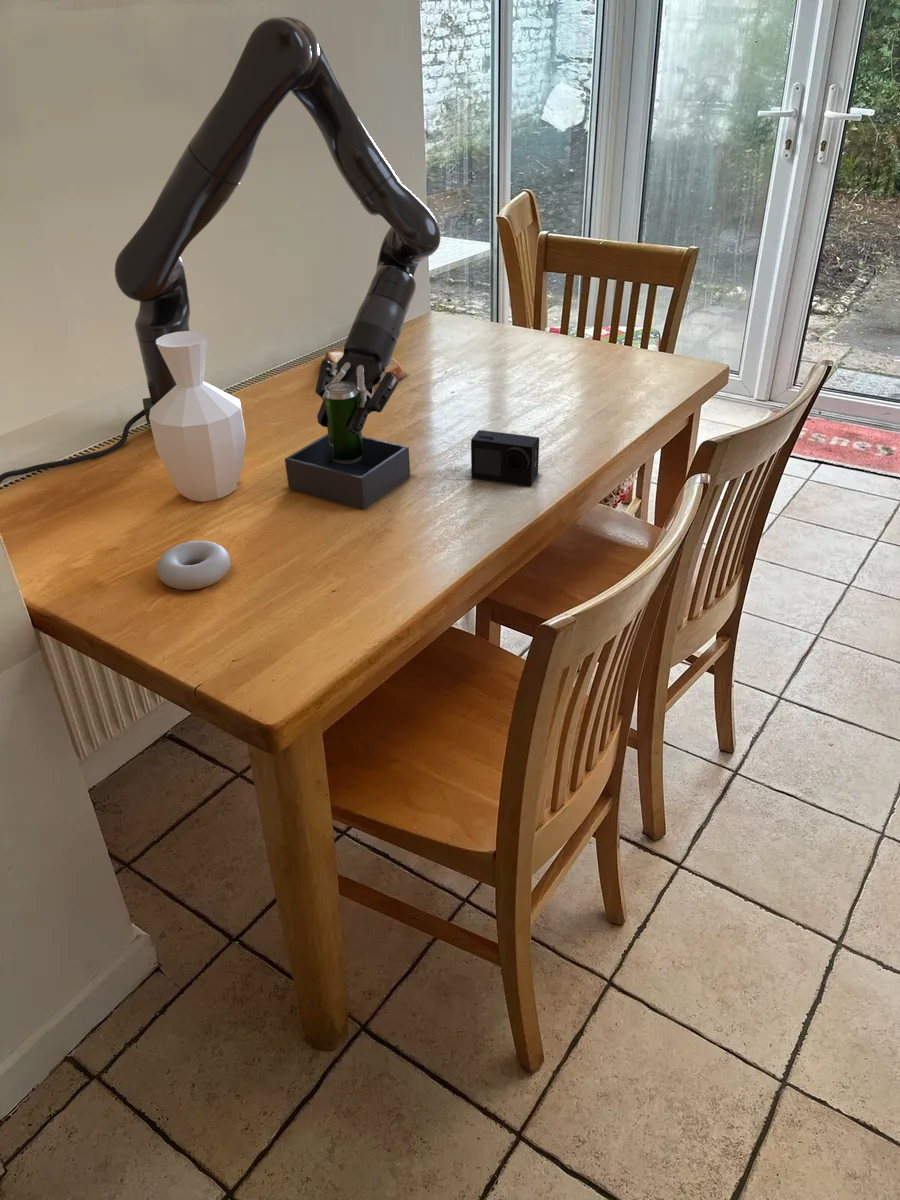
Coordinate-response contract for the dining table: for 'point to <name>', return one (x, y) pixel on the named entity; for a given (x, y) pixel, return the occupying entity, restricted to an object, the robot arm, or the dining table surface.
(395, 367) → the bread slice
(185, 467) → the vase
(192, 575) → the donut
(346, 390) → the beer can
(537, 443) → the digital camera
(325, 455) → the open rectangular tray
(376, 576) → the dining table surface
